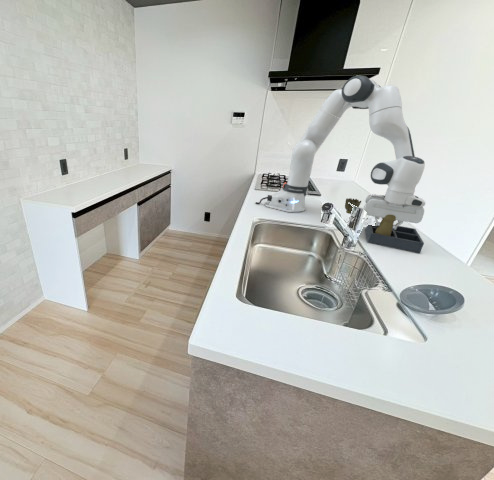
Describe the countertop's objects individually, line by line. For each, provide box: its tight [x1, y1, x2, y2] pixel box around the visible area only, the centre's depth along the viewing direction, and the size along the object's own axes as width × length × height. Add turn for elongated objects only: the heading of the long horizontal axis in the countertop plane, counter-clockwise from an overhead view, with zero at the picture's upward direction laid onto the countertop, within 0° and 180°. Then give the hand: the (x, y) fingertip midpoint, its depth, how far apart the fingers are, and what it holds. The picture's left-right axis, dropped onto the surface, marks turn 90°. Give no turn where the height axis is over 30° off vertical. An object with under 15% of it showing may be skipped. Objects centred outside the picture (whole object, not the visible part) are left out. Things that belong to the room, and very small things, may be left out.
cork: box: [375, 215, 397, 236], centre depth 113 cm, size 6×6×11 cm
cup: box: [344, 197, 362, 215], centre depth 148 cm, size 8×7×8 cm
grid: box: [365, 225, 425, 254], centre depth 117 cm, size 18×18×5 cm
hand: (385, 227), depth 114 cm, fingers closed on cork, 4 cm apart
